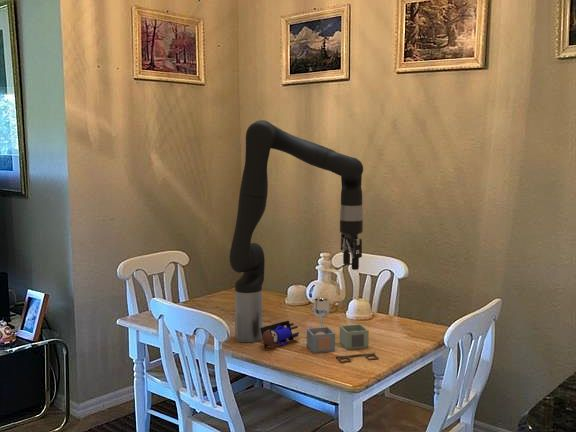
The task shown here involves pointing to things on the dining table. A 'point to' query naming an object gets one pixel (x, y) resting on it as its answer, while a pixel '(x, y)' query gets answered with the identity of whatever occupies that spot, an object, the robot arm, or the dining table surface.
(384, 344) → the dining table surface
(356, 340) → the green storage bin
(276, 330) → the character figurine
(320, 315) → the wineglass
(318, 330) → the grey storage bin
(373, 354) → the dark brown flat frame
